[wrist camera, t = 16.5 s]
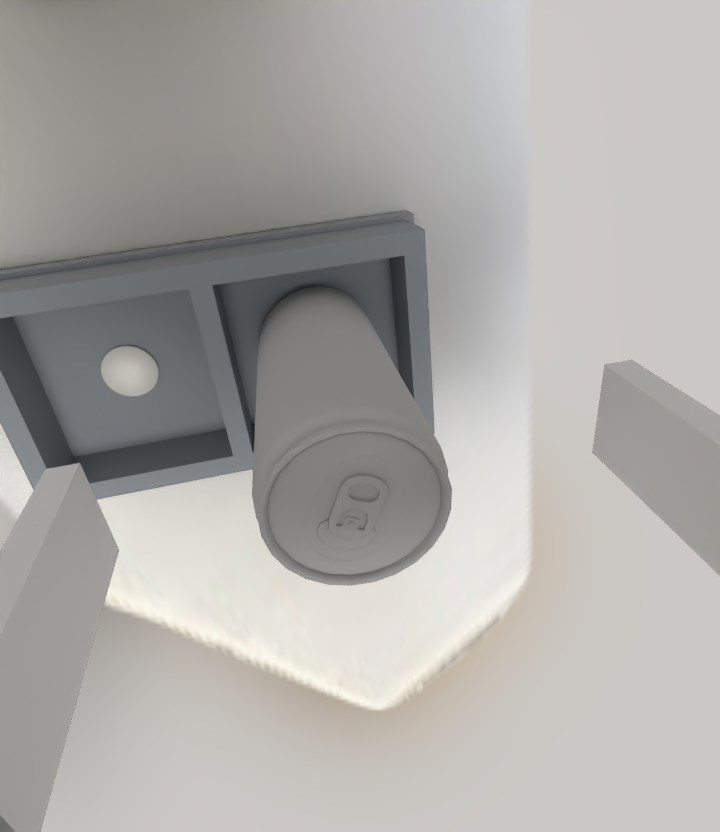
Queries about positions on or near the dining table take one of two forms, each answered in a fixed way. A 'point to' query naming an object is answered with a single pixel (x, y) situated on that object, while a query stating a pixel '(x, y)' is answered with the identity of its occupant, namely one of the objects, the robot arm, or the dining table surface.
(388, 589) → the dining table surface
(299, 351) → the beverage can
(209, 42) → the dining table surface
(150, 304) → the socket board
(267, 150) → the dining table surface
